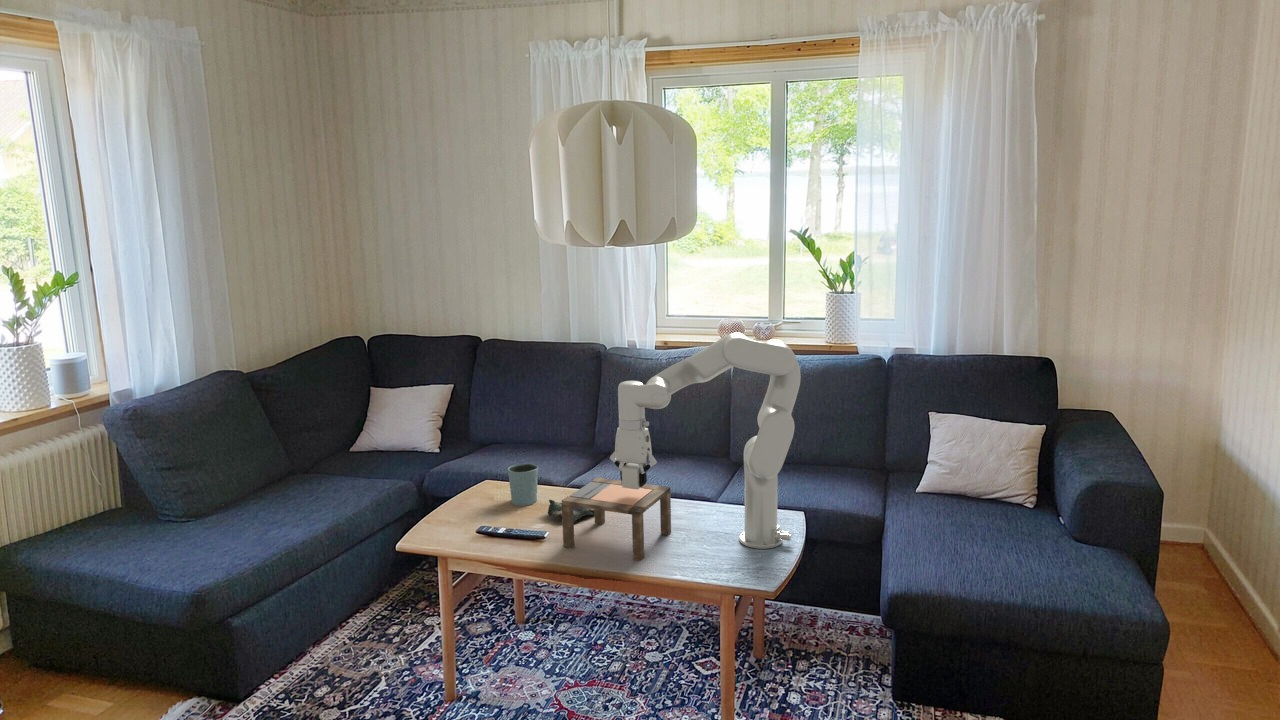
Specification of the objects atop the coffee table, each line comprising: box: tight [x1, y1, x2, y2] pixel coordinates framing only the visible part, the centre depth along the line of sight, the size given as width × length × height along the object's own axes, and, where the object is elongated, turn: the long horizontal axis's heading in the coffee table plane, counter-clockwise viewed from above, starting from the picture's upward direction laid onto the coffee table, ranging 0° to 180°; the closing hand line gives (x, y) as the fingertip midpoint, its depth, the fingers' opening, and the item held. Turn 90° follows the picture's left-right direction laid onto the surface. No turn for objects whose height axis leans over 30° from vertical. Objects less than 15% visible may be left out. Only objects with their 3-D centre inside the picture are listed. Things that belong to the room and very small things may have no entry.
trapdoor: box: [569, 481, 653, 511], centre depth 250 cm, size 21×14×4 cm
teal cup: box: [507, 462, 539, 507], centre depth 285 cm, size 10×10×12 cm
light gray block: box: [622, 462, 641, 490], centre depth 245 cm, size 5×5×6 cm
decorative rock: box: [547, 499, 595, 524], centre depth 273 cm, size 19×6×15 cm
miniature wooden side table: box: [561, 477, 672, 562], centre depth 250 cm, size 25×22×14 cm
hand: (633, 483), depth 246 cm, fingers closed on light gray block, 5 cm apart
